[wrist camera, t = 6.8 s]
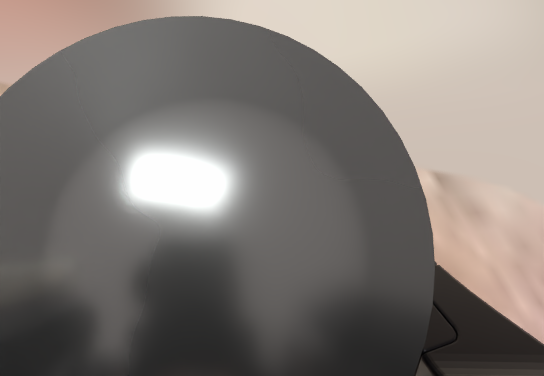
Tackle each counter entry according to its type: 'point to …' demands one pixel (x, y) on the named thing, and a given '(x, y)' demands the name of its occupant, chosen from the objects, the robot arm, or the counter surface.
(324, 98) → the tin
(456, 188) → the counter surface
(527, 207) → the counter surface
